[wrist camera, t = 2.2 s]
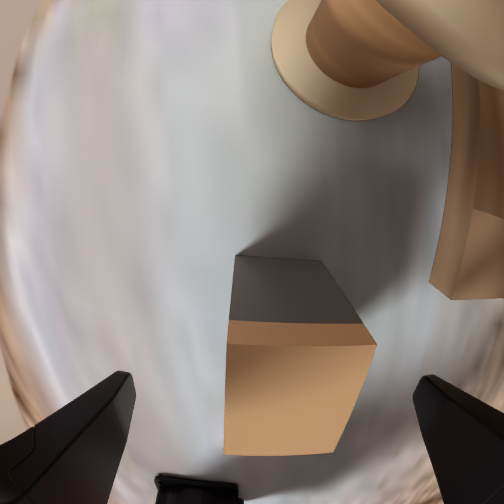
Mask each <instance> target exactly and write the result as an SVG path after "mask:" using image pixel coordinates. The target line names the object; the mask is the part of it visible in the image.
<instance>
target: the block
mask: <svg viewBox="0 0 504 504" xmlns="http://www.w3.org/2000/svg"><path fill="white" fill-rule="evenodd" d="M376 347H377V344H376V342H375V340H374V339H373V337H372V336H371V334H370V333H369V331H368V330H367V328H366V326H365V325H364V323H363V322H362V320H361V319H360V317H359V316H358V314H357V313H356V311H355V310H354V308H353V307H352V305H351V304H350V302H349V301H348V299H347V298H346V296H345V295H344V293H343V292H342V290H341V289H340V287H339V286H338V284H337V283H336V281H335V280H334V279H333V277H332V276H331V274H330V273H329V271H328V270H327V268H326V267H325V266H324V264H323V263H322V261H317V260H301V259H285V258H269V257H253V256H238V255H235V263H234V273H233V283H232V293H231V304H230V314H229V325H228V336H227V351H226V380H225V414H224V455H242V456H288V455H307V454H320V453H331V452H334V449H335V447H336V445H337V443H338V441H339V439H340V437H341V435H342V433H343V431H344V428H345V426H346V424H347V422H348V420H349V417H350V415H351V413H352V410H353V408H354V406H355V403H356V401H357V398H358V396H359V393H360V391H361V388H362V386H363V383H364V381H365V378H366V375H367V373H368V370H369V367H370V364H371V362H372V359H373V356H374V353H375V350H376Z"/></svg>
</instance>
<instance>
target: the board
mask: <svg viewBox="0 0 504 504" xmlns="http://www.w3.org/2000/svg"><path fill="white" fill-rule="evenodd" d="M451 67H452V86H453V128H452V148H451V161H450V171H449V180H448V189H447V196H446V203H445V209H444V215H443V221H442V227H441V232H440V237H439V242H438V247H437V251H436V255H435V260H434V264H433V268H432V272H431V276H430V280H429V283H430V284H432V285H433V286H434V287H436V288H437V289H438V290H439V291H441V292H442V293H443V294H444V295H445V296H447V297H448V298H449V299H450V300H468V299H494V298H504V90H502V89H498V88H495V87H492V86H490V85H488V84H486V83H484V82H482V81H480V80H478V79H476V78H475V77H473V76H471V75H470V74H468V73H466V72H464V71H463V70H461V69H460V68H458V67H457V66H456V65H454V64H453V63H451Z"/></svg>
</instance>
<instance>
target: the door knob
mask: <svg viewBox="0 0 504 504" xmlns="http://www.w3.org/2000/svg"><path fill="white" fill-rule="evenodd" d="M271 51H272V57H273V61H274V64H275V67H276V69H277V71H278V73H279V75H280V76H281V78H282V80H283V81H284V83H285V84H286V85H287V86H288V88H289V89H290V90H291V91H292V92H293V93H294V94H295V95H296V96H297V97H298V98H299V99H300V100H302V101H303V102H304V103H306V104H307V105H309V106H310V107H312V108H313V109H315V110H317V111H319V112H321V113H323V114H325V115H328V116H331V117H334V118H338V119H342V120H349V121H364V120H371V119H374V118H378V117H382V116H385V115H388V114H390V113H392V112H395V111H396V110H398V109H399V108H401V107H402V106H403V105H404V104H405V103H406V102H407V101H408V99H409V98H410V97H411V95H412V93H413V92H414V90H415V87H416V84H417V80H418V75H419V65H422V64H424V63H426V62H429V61H431V60H433V59H436V58H438V57H440V56H443V57H444V58H445V59H447V60H448V61H450V62H451V63H453V64H454V65H456V66H457V67H458V68H460V69H461V70H463V71H464V72H466V73H468V74H470V75H471V76H473V77H475V78H476V79H478V80H480V81H482V82H484V83H486V84H488V85H490V86H492V87H495V88H498V89H502V90H504V0H289V1H288V2H287V3H285V5H284V6H283V7H282V8H281V10H280V11H279V13H278V15H277V17H276V20H275V23H274V27H273V31H272V37H271Z"/></svg>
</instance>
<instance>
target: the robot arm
mask: <svg viewBox="0 0 504 504" xmlns="http://www.w3.org/2000/svg"><path fill="white" fill-rule="evenodd" d="M135 400H136V391H135V386H134V382H133V377H132V375H131V373H129V372H124V371H116V372H115V373H113V374H112V375H110V376H109V377H107V378H106V379H104V380H103V381H101V382H100V383H98V384H97V385H95V386H94V387H92V388H91V389H89V390H88V391H86V392H85V393H83V394H82V395H80V396H79V397H77V398H76V399H74V400H73V401H71V402H70V403H68V404H67V405H65V406H64V407H62V408H61V409H59V410H57V411H56V412H54V413H53V414H51V415H50V416H48V417H47V418H45V419H44V420H42V421H41V422H39V423H37V424H36V425H35V426H34V427H31V428H29V429H28V430H26V431H25V432H23V433H22V434H20V435H18V436H17V437H15V438H13V439H12V440H9V441H7V442H5V443H4V444H1V445H0V504H107V502H108V499H109V495H110V492H111V489H112V486H113V482H114V479H115V476H116V473H117V470H118V467H119V464H120V460H121V457H122V454H123V451H124V448H125V445H126V442H127V438H128V433H129V428H130V423H131V419H132V414H133V409H134V405H135ZM413 403H414V406H415V410H416V414H417V418H418V422H419V426H420V430H421V433H422V437H423V440H424V443H425V446H426V449H427V451H428V454H429V457H430V460H431V463H432V466H433V469H434V473H435V476H436V479H437V482H438V485H439V489H440V492H441V495H442V499H443V502H444V504H504V413H502V412H500V411H499V410H497V409H495V408H493V407H491V406H489V405H488V404H486V403H484V402H482V401H480V400H479V399H477V398H475V397H473V396H471V395H470V394H468V393H466V392H464V391H462V390H461V389H459V388H457V387H455V386H453V385H452V384H450V383H448V382H446V381H444V380H443V379H441V378H439V377H437V376H436V375H433V374H431V375H425V376H423V377H422V378H421V379H420V381H419V383H418V385H417V387H416V389H415V391H414V393H413ZM154 482H155V484H156V487H157V489H158V493H157V498H156V503H155V504H244V500H243V499H242V498H238V491H239V486H238V485H236V484H227V483H213V482H202V481H192V480H184V479H177V478H171V477H164V476H155V479H154Z"/></svg>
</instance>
